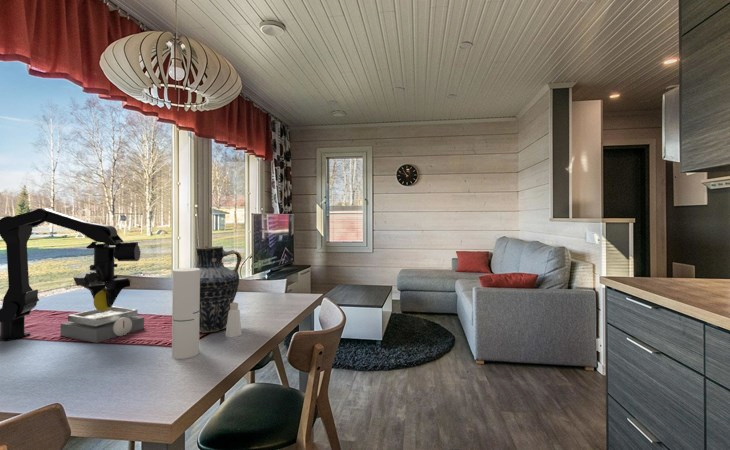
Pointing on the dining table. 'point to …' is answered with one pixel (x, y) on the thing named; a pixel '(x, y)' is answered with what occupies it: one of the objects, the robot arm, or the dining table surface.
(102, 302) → the lemon
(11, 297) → the robot arm
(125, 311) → the pan
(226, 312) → the jug
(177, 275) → the cylindrical container
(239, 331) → the pepper shaker
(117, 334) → the scale
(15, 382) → the dining table surface
